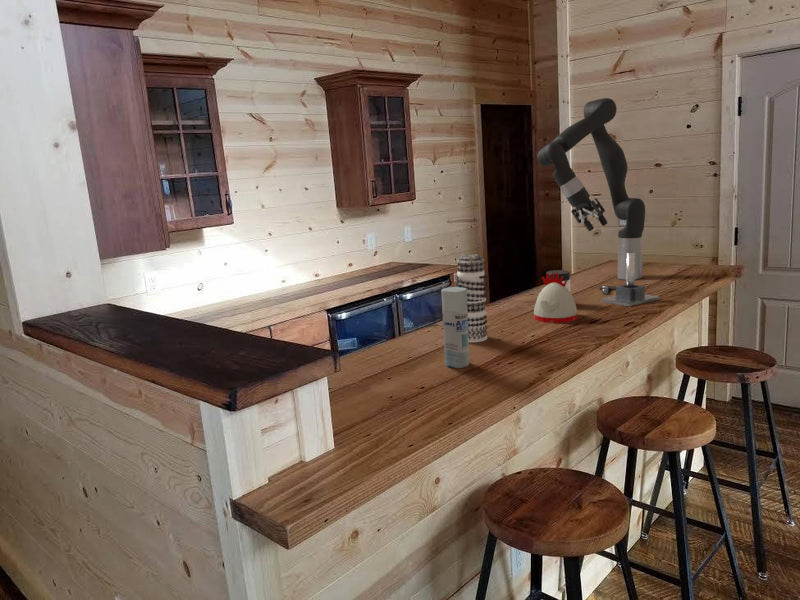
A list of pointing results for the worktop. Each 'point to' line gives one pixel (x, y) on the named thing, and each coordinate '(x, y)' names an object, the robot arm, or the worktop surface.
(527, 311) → the worktop surface
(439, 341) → the worktop surface
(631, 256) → the steel rod
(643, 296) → the chuck block
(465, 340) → the spray paint can
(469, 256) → the decorative candle
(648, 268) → the worktop surface
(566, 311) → the kitchen timer
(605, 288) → the chuck key
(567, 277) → the jar
